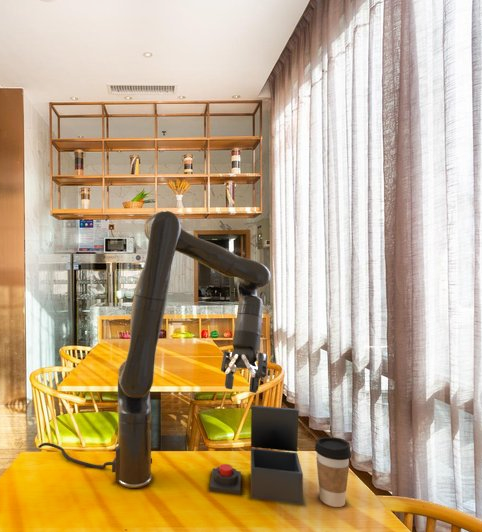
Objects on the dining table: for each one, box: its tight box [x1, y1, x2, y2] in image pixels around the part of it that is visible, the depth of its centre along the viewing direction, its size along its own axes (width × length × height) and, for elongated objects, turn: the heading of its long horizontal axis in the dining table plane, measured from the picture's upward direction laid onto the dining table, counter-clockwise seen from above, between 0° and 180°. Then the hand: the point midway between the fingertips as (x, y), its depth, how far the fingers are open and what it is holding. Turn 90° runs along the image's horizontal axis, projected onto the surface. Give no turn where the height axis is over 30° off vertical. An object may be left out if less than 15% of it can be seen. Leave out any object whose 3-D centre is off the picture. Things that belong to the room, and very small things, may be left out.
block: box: [209, 466, 242, 496], centre depth 109 cm, size 8×10×3 cm
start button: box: [218, 463, 234, 476], centre depth 109 cm, size 4×4×2 cm
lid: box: [250, 404, 300, 453], centre depth 111 cm, size 12×13×1 cm
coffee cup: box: [314, 436, 352, 508], centre depth 102 cm, size 8×8×15 cm
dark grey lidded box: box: [250, 447, 304, 506], centre depth 107 cm, size 12×13×8 cm
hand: (240, 390), depth 109 cm, fingers open, 8 cm apart
